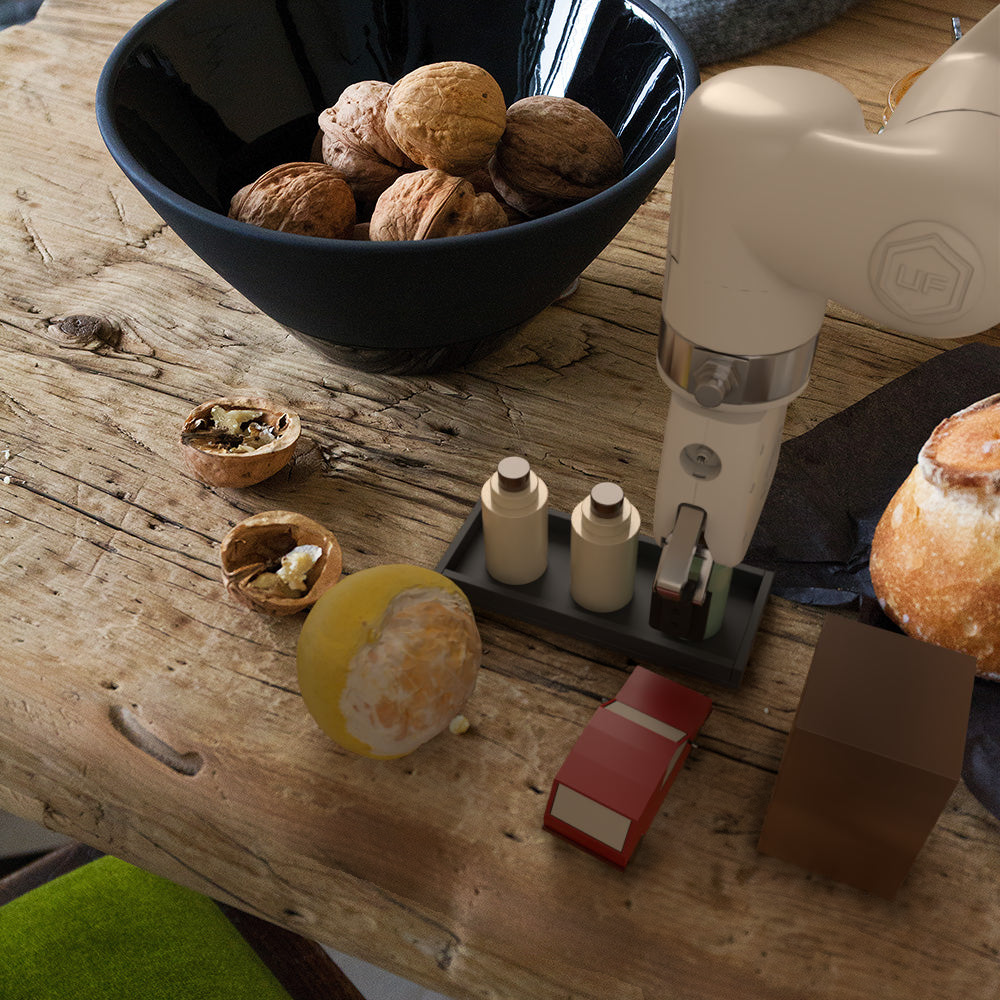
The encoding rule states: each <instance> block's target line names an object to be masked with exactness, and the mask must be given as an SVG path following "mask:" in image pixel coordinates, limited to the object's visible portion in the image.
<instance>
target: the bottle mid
mask: <svg viewBox="0 0 1000 1000" xmlns="http://www.w3.org/2000/svg"><path fill="white" fill-rule="evenodd" d="M571 514H572V515H571V540H570V578H569V589H570V593H571V595H572V597H573V599H574V600H575V601H576V602H577V603H578V604H579V605H580V606H582V607H583V608H585V609H587V610H590V611H594V612H601V613H605V612H612V611H616V610H619V609H621V608H622V607H624V606H625V605H627V604H628V603H629V601H630V600H631V599H632V597H633V594H634V588H635V578H636V567H637V557H638V546H639V536H640V534H641V524H642V520H641V516H640V513H639V511H638V509H637V508H636V507H635V505H633V504H632V503H631V502H630V500H629V499H628V498H627V497H626V496H625V491H624V489H623V488H622V487H621V486H620V485H619V484H617V483H614V482H610V481H604V482H603V481H602V482H599V483H596V484H595V485H594V486H593V487H592V488H591V490H590V493H589V494H588V495H587V496H586V497H585V498H584V499H583V500H582V501H580V502H579V503H578V504H577V505H576V506H575V507H574V508H573V510H572V512H571Z"/></svg>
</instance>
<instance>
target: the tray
mask: <svg viewBox="0 0 1000 1000" xmlns="http://www.w3.org/2000/svg"><path fill="white" fill-rule="evenodd" d="M571 515H572V513H569V512H564V511H562V510H557V509H556V508H555V509H554V508H551V507H548V565H547V568H546V570H545V572H544V573H543V574H542V575H541V576H540V577H539V578H538V579H536V580H535V581H533V582H530V583H527V584H522V585H510V584H505V583H502V582H500V581H498V580H496V579H495V578H493V577H492V576H491V575H490V574H489V572H488V571H487V568H486V565H485V553H484V537H483V521H482V505H481V496H480V497H479V498H478V499H477V501H476V503H475V505H474V506H473V508H472V509H471V510H470V513H469V514H468V515H467V517H466V519H465V520H464V522H463V524H462V525H461V527H460V528H459V530H458V532H457V533H456V534H455V536H454V538H453V540H452V541H451V542H450V544H449V546H448V548H447V549H446V551H445V552H444V554H443V556H442V557H441V558H440V560H439V561H438V563H437V565H436V566H435V568H434V570H433V571H435V572H437V573H439V574H441V575H443V576H445V577H446V578H448V579H449V580H451V581H452V582H453V583H454V584H455V585H457V586H458V587H459V588H460V589H461V590H462V592H463V593H464V594H465V596H466V597H467V599H468V601H469V603H470V606H474V607H478V608H480V609H483V610H487V611H489V612H493V613H496V614H499V615H502V616H505V617H508V618H511V619H513V620H514V619H515V620H517V621H521V622H522V623H523V622H524V623H526V624H530V625H532V626H535V627H538V628H541V629H546V630H548V631H551V632H554V633H557V634H560V635H563V636H566V637H569V638H572V639H575V640H579V641H581V642H584V643H588V644H591V645H593V646H597V647H599V648H600V647H601V648H604V649H606V650H609V651H612V652H615V653H619V654H622V655H624V656H628V657H631V658H634V659H636V660H639V661H642V662H646V663H648V664H651V665H655V666H658V667H661V668H664V669H667V670H670V671H673V672H676V673H678V674H679V673H680V674H682V675H685V676H689V677H692V678H694V679H698V680H701V681H704V682H707V683H710V684H713V685H716V686H720V687H723V688H724V689H728V690H732V691H734V692H739V690H740V687H741V684H742V682H743V678H744V674H745V673H746V672H745V671H746V669H747V665H748V662H749V661H750V660H749V659H750V657H751V653H752V650H753V647H754V644H755V642H756V638H757V635H758V632H759V629H760V626H761V622H762V619H763V617H764V614H765V610H766V607H767V605H768V601H769V598H770V596H771V591H772V588H773V583H774V579H775V575H776V573H775V572H773V571H770V570H765V569H763V568H760V567H755V566H752V565H749V564H745V563H742V562H740V563H739V564H738V565H736V566H734V570H733V575H732V580H731V585H730V590H729V595H728V600H727V605H726V611H725V616H724V621H723V624H722V626H721V628H720V629H719V631H718V632H717V633H716V634H714V635H713V636H711V637H709V638H707V639H704V640H703V641H702V642H694V641H688V640H683V639H679V638H677V637H674V636H671V635H668V634H666V633H664V632H662V631H659V630H656V629H653V628H651V627H650V626H649V614H650V605H651V596H652V587H653V581H654V579H655V576H656V573H657V569H658V565H659V562H660V558H661V554H662V550H663V547H662V548H661V547H659V545H658V544H657V543H656V541H655V539H654V537H651V536H648V535H645V534H642V533H640V536H639V546H638V557H637V567H636V578H635V588H634V594H633V597H632V599H631V600H630V601H629V603H628V604H627V605H625V606H624V607H622V608H621V609H619V610H616V611H612V612H605V613H601V612H594V611H590V610H587V609H585V608H583V607H582V606H580V605H579V604H578V603H577V602H576V601H575V600H574V599H573V597H572V595H571V593H570V589H569V578H570V540H571ZM663 546H664V545H663Z"/></svg>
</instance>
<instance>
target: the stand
mask: <svg viewBox="0 0 1000 1000" xmlns="http://www.w3.org/2000/svg"><path fill="white" fill-rule="evenodd" d="M812 654H813V655H812V657H811V661H810V664H809V667H808V671H807V674H806V676H805V680H804V684H803V687H802V690H801V693H800V696H799V700H798V703H797V706H796V709H795V712H794V716H793V718H792V723H791V725H790V728H789V732H788V734H787V738H786V742H785V744H784V749H783V753H782V755H781V760H780V762H779V767H778V770H777V774H776V778H775V780H774V785H773V788H772V791H771V796H770V799H769V802H768V806H767V810H766V813H765V817H764V821H763V825H762V828H761V831H760V834H759V838H758V842H757V845H756V849H755V850H756V852H758V853H761V854H764V855H767V856H770V857H773V858H775V859H778V860H781V861H783V862H785V863H788V864H791V865H794V866H796V867H799V868H802V869H804V870H807V871H810V872H813V873H815V874H817V875H821V876H823V877H827V878H829V879H832V880H834V881H837V882H839V883H842V884H845V885H848V886H851V887H853V888H856V889H858V890H861V891H864V892H867V893H869V894H872V895H874V896H878V897H880V898H881V899H885V900H888V901H890V902H893V901H894V899H895V897H896V896H897V894H898V892H899V890H900V888H901V887H902V885H903V883H904V881H905V880H906V879H907V876H908V874H909V872H910V871H911V869H912V867H913V865H914V863H915V862H916V860H917V858H918V857H919V854H920V853H921V851H922V849H923V847H924V846H925V844H926V842H927V840H928V838H929V837H930V835H931V833H932V832H933V830H934V829H935V826H936V824H937V823H938V821H939V819H940V817H941V815H942V813H943V812H944V810H945V808H946V806H947V804H948V803H949V801H950V799H951V797H952V796H953V794H954V792H955V790H956V788H957V786H958V785H959V783H960V781H961V774H962V769H963V768H962V767H963V761H964V754H965V747H966V740H967V732H968V726H969V725H968V724H969V719H970V711H971V704H972V699H973V698H972V697H973V696H972V695H973V691H974V682H975V676H976V668H977V661H978V657H977V656H976V655H975V656H974V655H972V654H969V653H968V654H967V653H965V652H960V651H957V650H954V649H951V648H947V647H944V646H940V645H937V644H933V643H930V642H928V641H923V640H920V639H916V638H913V637H911V636H906V635H903V634H900V633H896V632H893V631H890V630H887V629H884V628H880V627H876V626H873V625H869V624H866V623H863V622H860V621H856V620H852V619H849V618H847V617H842V616H839V615H836V614H832V613H830V612H829V613H828V612H826V613H825V616H824V619H823V622H822V626H821V629H820V632H819V635H818V638H817V642H816V645H815V648H814V652H813V653H812Z"/></svg>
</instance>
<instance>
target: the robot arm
mask: <svg viewBox="0 0 1000 1000" xmlns="http://www.w3.org/2000/svg"><path fill="white" fill-rule="evenodd" d="M672 174H673V176H672V186H671V198H670V207H669V219H668V229H667V240H666V250H665V251H666V252H665V265H664V276H663V285H662V295H661V304H660V314H659V322H658V323H659V324H658V325H659V326H658V333H657V334H658V335H657V346H656V357H655V358H656V359H655V364H656V369H657V373H658V375H659V376H660V379H661V380H662V382H663V383H664V384H665V385H666V386H667V387H668V389H670V390H671V393H670V400H669V405H668V411H667V416H666V422H665V424H664V436H663V440H662V441H663V442H662V448H661V454H660V462H659V467H658V477H657V483H656V491H655V500H654V510H653V525H652V535H653V538H654V539H655V541H656V543H657V544H658V545H659V547H661V548H662V547H663V550H662V554H661V558H660V562H659V565H658V569H657V573H656V576H655V579H654V581H653V587H652V596H651V605H650V614H649V626H650V627H651V628H653V629H656V630H659V631H662V632H664V633H666V634H668V635H671V636H674V637H677V638H684V639H687V640H691V641H694V642H702V641H703V638H704V636H705V632H706V627H707V621H708V615H709V610H710V604H711V598H712V592H709V591H708V586H709V582H710V579H711V575H712V571H713V568H714V564H715V563H716V564H718V565H723V566H727V567H730V568H732V567H734V566H736V565H738V564H739V563H742V561H744V558H745V556H746V554H747V551H748V548H749V546H750V544H751V541H752V539H753V536H754V533H755V530H756V529H757V526H758V523H759V520H760V517H761V514H762V511H763V508H764V506H765V503H766V500H767V497H768V494H769V491H770V489H771V487H772V483H773V480H774V477H775V473H776V470H777V466H778V462H779V458H780V452H781V446H782V440H783V433H784V427H785V421H786V416H787V412H788V411H787V410H788V405H789V403H791V402H793V401H795V400H796V398H798V397H799V396H801V395H802V394H803V392H804V391H805V389H807V387H808V386H809V383H810V380H811V376H812V372H813V367H814V363H815V358H816V356H817V355H816V354H817V350H818V346H819V341H820V337H821V332H822V328H823V323H824V319H825V314H826V309H827V306H828V301H830V302H832V303H834V304H837V305H839V306H841V307H843V308H845V309H847V310H849V311H851V312H853V313H855V314H858V315H860V316H862V317H864V318H866V319H868V320H870V321H873V322H875V323H878V324H880V325H881V326H884V327H887V328H890V329H892V330H896V331H898V332H902V333H905V334H909V335H912V336H917V337H923V338H928V339H929V338H930V339H941V340H943V339H958V338H964V337H969V336H970V337H971V336H973V335H977V334H979V333H983V332H985V331H987V330H989V329H992V328H993V327H995V326H997V325H999V324H1000V3H999V4H998V5H996V6H995V7H994V8H993V9H992V10H991V11H990V12H988V13H987V14H986V15H985V16H984V17H982V19H980V21H978V22H977V23H976V24H974V25H973V27H971V28H970V29H969V30H968V31H967V32H966V33H965V34H963V36H961V37H960V38H959V39H958V40H957V41H956V42H954V43H953V44H952V45H951V46H950V47H949V48H948V49H947V50H946V51H944V53H942V54H941V55H940V56H939V57H938V58H937V59H936V60H935V61H934V62H933V63H932V64H931V65H930V66H929V67H928V68H927V69H925V71H924V72H923V73H921V75H920V76H919V77H918V78H917V79H916V80H915V81H914V82H913V84H911V86H910V87H909V88H908V89H907V91H906V92H905V94H904V95H903V96H902V97H901V99H900V100H899V102H898V104H897V105H896V106H895V108H894V110H893V112H892V113H891V114H890V117H889V119H888V120H887V121H886V124H885V125H884V127H883V129H882V131H881V132H880V133H873V132H871V131H869V130H868V128H867V127H866V120H865V115H864V112H863V109H862V106H861V104H860V102H859V100H858V98H857V97H856V96H855V95H854V93H853V92H852V91H850V90H849V89H848V88H847V87H846V86H844V85H843V84H842V83H841V82H840V81H837V80H836V79H834V78H832V77H830V76H827V75H825V74H823V73H819V72H816V71H813V70H809V69H805V68H800V67H795V66H785V65H752V66H751V65H750V66H744V67H743V66H742V67H738V68H733V69H729V70H726V71H723V72H720V73H718V74H716V75H714V76H712V77H710V78H709V79H706V80H704V82H702V83H701V84H700V85H698V86H697V87H696V88H695V89H694V91H693V92H692V93H691V94H690V95H689V97H688V98H687V100H686V102H685V104H684V106H683V109H682V111H681V113H680V115H679V122H678V127H677V135H676V143H675V154H674V164H673V173H672ZM702 530H703V531H705V533H704V538H705V541H706V543H707V545H705V544H701V543H698V541H699V538H700V535H701V532H702ZM663 545H664V546H663ZM694 556H695V557H699V558H702V559H703V563H702V566H701V570H700V574H699V578H698V581H695V580H692V579H688V574H689V570H690V566H691V563H692V560H693V557H694Z"/></svg>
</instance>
